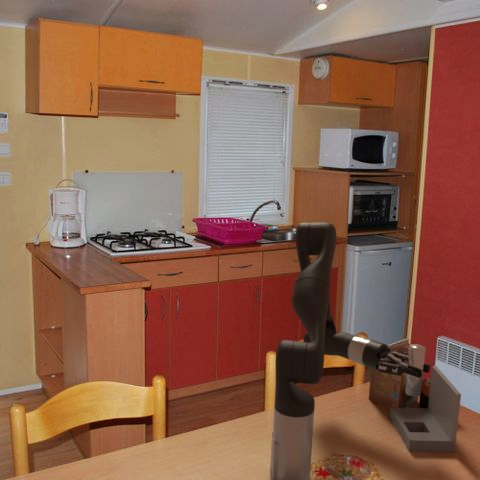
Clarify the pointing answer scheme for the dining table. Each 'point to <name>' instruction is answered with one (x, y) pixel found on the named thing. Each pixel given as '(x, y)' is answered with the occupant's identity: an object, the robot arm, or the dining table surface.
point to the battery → (425, 394)
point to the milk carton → (391, 384)
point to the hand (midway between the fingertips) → (425, 371)
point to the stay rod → (416, 361)
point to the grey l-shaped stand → (431, 418)
